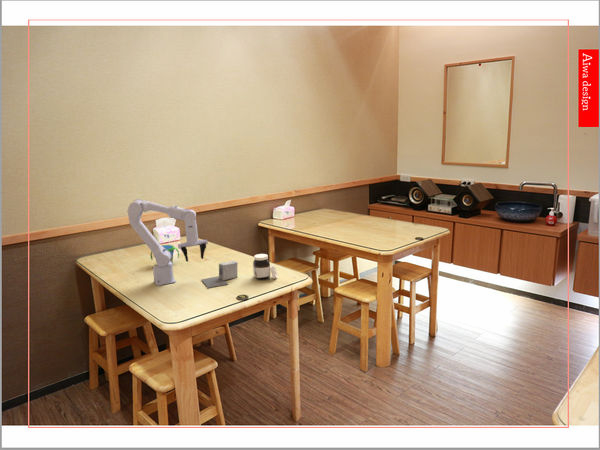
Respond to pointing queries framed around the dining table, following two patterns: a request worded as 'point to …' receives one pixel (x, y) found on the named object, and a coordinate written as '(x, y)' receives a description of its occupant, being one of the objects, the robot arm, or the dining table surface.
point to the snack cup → (170, 249)
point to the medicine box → (228, 270)
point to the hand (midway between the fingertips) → (194, 259)
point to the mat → (214, 282)
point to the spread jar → (263, 267)
